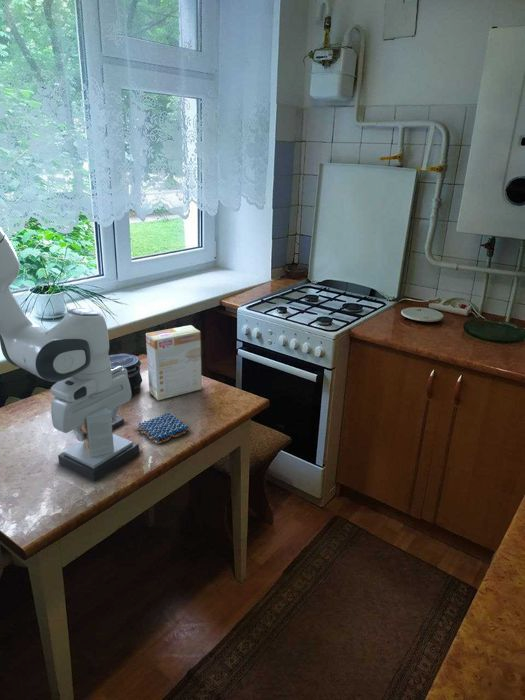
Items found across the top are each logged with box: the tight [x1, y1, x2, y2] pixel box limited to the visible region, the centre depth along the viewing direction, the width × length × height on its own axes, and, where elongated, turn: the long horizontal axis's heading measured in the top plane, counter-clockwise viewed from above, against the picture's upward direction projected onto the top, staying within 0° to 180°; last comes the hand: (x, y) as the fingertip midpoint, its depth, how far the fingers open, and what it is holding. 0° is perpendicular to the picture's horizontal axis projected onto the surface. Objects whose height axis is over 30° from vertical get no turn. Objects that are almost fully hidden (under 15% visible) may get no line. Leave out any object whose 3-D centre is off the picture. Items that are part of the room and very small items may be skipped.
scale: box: [57, 433, 140, 483], centre depth 118 cm, size 14×12×3 cm
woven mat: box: [136, 412, 190, 444], centre depth 131 cm, size 10×11×2 cm
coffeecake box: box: [145, 324, 203, 401], centre depth 150 cm, size 15×7×20 cm, turn 124°
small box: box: [82, 407, 114, 457], centre depth 116 cm, size 8×6×10 cm
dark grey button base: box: [80, 415, 125, 431], centre depth 132 cm, size 10×7×3 cm
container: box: [108, 353, 143, 396], centre depth 151 cm, size 13×13×10 cm
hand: (97, 431), depth 116 cm, fingers closed on small box, 7 cm apart
